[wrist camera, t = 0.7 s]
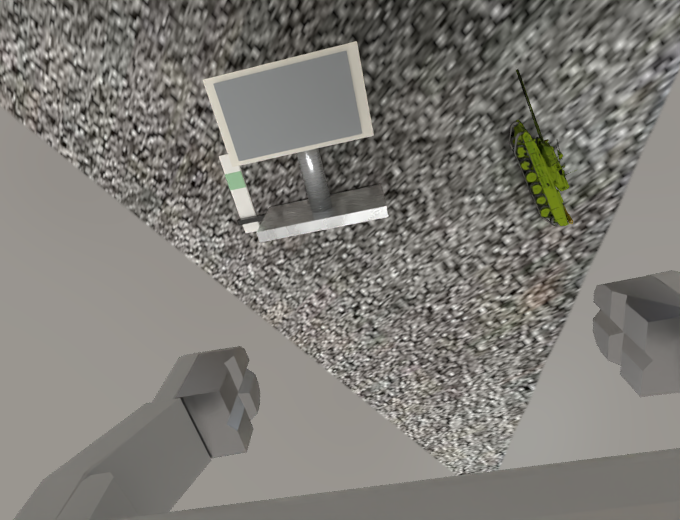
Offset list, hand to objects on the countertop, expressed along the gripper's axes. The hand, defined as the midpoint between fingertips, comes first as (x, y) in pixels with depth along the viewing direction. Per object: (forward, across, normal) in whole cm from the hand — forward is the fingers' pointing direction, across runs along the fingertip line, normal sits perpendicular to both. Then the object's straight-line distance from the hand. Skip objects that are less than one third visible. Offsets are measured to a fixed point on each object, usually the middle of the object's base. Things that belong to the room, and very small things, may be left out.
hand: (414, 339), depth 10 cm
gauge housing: (+41, +8, +1) cm, 42 cm away
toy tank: (+41, -19, +6) cm, 46 cm away
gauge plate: (+41, +9, +3) cm, 42 cm away
